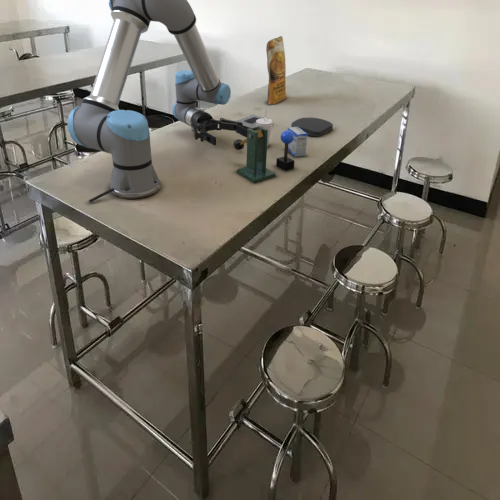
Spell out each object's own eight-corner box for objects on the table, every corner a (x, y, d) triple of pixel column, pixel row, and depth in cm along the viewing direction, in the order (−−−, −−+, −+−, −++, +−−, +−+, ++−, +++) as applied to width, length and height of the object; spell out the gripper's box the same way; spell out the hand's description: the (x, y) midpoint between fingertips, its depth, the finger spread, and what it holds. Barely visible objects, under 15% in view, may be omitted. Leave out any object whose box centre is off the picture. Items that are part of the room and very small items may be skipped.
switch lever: (233, 152, 167) (230, 142, 167) (242, 150, 169) (239, 140, 169) (256, 140, 154) (253, 129, 154) (265, 137, 156) (262, 126, 156)
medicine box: (285, 149, 183) (287, 127, 178) (296, 148, 185) (297, 126, 180) (295, 157, 177) (297, 134, 172) (306, 155, 179) (308, 133, 174)
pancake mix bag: (259, 103, 230) (261, 40, 214) (278, 94, 243) (282, 34, 228) (271, 106, 227) (274, 42, 211) (290, 96, 240) (294, 36, 225)
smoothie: (275, 145, 186) (277, 109, 178) (263, 150, 182) (265, 113, 174) (262, 141, 190) (264, 105, 182) (251, 145, 186) (252, 109, 178)
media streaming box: (317, 138, 193) (318, 131, 192) (287, 130, 201) (287, 123, 199) (335, 129, 203) (336, 122, 202) (306, 121, 210) (306, 114, 209)
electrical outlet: (252, 119, 211) (253, 113, 210) (272, 124, 206) (272, 119, 204) (233, 126, 202) (233, 121, 201) (252, 133, 197) (252, 127, 196)
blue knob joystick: (284, 171, 167) (287, 134, 159) (275, 166, 170) (277, 130, 163) (294, 168, 169) (297, 131, 162) (285, 163, 172) (287, 127, 165)
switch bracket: (236, 172, 165) (237, 127, 156) (257, 166, 170) (259, 122, 161) (254, 183, 159) (255, 136, 150) (275, 176, 163) (278, 131, 154)
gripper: (227, 124, 191) (259, 140, 177) (171, 136, 179) (201, 155, 165) (227, 105, 187) (260, 120, 173) (169, 116, 174) (200, 134, 160)
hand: (231, 137), depth 169 cm, fingers open, 13 cm apart
